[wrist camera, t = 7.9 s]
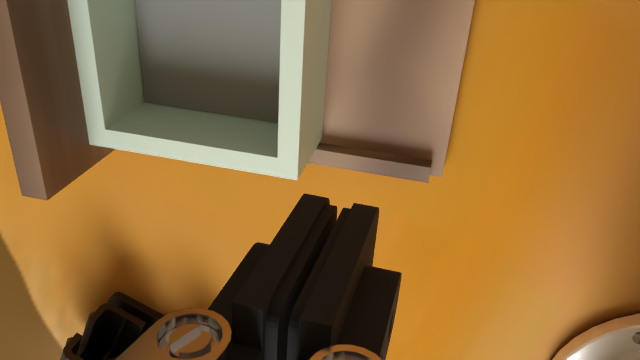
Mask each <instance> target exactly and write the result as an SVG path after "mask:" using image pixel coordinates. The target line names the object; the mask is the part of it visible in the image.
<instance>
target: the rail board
mask: <svg viewBox="0 0 640 360" xmlns="http://www.w3.org/2000/svg"><path fill="white" fill-rule="evenodd" d="M474 3H475V0H331V14H330V29H329V44H328V59H327V74H326V89H325V104H324V119H323V134H322V139H321V141H320V143H319V144H318V146H317V148H316V149H315V151H314V153H313V155H312V156H311V158H310V160H309V161H308V163H311V164H317V165H323V166H329V167H336V168H342V169H348V170H354V171H360V172H366V173H372V174H378V175H384V176H390V177H396V178H402V179H408V180H414V181H420V182H426V183H428V181H429V176H430V175H432V176H438V177H442V174H443V169H444V164H445V158H446V153H447V147H448V142H449V137H450V131H451V126H452V121H453V115H454V110H455V105H456V99H457V94H458V89H459V83H460V78H461V72H462V67H463V62H464V56H465V51H466V46H467V40H468V35H469V30H470V24H471V19H472V13H473V8H474ZM0 102H1V107H2V111H3V115H4V120H5V124H6V128H7V133H8V137H9V141H10V146H11V150H12V154H13V159H14V163H15V167H16V172H17V176H18V180H19V185H20V189H21V193H22V196H27V197H32V198H37V199H42V200H49V199H50V198H51V197H53V196H54V195H55V194H57V193H58V192H59V191H60V190H62V189H63V188H64V187H66V186H67V185H68V184H70V183H71V182H72V181H74V180H75V179H76V178H78V177H79V176H80V175H82V174H83V173H84V172H86V171H87V170H88V169H90V168H91V167H92V166H94V165H95V164H96V163H97V162H99V161H100V160H101V159H103V158H104V157H105V156H107V155H108V154H109V153H111V152H112V151H113V150H115V149H113V148H107V147H101V146H95V145H90V144H89V138H88V131H87V125H86V118H85V112H84V105H83V99H82V92H81V86H80V79H79V73H78V66H77V60H76V54H75V47H74V41H73V34H72V28H71V21H70V15H69V8H68V2H67V0H0Z"/></svg>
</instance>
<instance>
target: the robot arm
mask: <svg viewBox="0 0 640 360" xmlns="http://www.w3.org/2000/svg"><path fill="white" fill-rule="evenodd" d="M378 217H379V208H378V207H373V206H367V205H362V204H357V203H354V204H353V206H352V208H351V209H348V208H343V209H342V211H341V213H340V215H339V217H338V219H337V206H333V205H330V202H329V198H325V197H320V196H315V195H309V194H303V196H302V197H301V199H300V200H299V202H298V203H297V205H296V206H295V208H294V209H293V211H292V212H291V214H290V215H289V217H288V218H287V220H286V221H285V223H284V224H283V226H282V227H281V229H280V230H279V232H278V233H277V235H276V236H275V238H274V239H273V241H272V242H271V244H270V245H268V244H264V243H259V242H258V243H255V244H254V245H253V246H252V248H251V249H250V251H249V252H248V253H247V255H246V256H245V258H244V259H243V260H242V262H241V263H240V265H239V266H238V267H237V269H236V270H235V272H234V273H233V275H232V276H231V277H230V279H229V280H228V282H227V283H226V284H225V286H224V287H223V289H222V290H221V291H220V293H219V294H218V296H217V297H216V299H215V300H214V301H213V303H212V304H211V306H210V307H209V308H208V310H207V309H203V308H187V309H182V310H177V311H174V312H172V313H170V314H167V315H165V316H164V317H162V318H161V319H159V320H158V321H157V322H155V323H154V324H153V325H152V326H151V327H150V328H149V329H148V330H147V331H146V332H145V333H143V334H142V335H141V336H140V337H139V338H138V339H137V340H136V341H135V342H134V343H133V344H132V345H131V346H129V347H128V348H127V349H126V350H125V351H124V352H123V353H122V354H121V355H120V356H118V357H115V358H112V359H108V360H385V359H386V354H387V350H388V346H389V342H390V338H391V333H392V328H393V323H394V318H395V313H396V307H397V301H398V295H399V288H400V282H401V273H400V272H395V271H391V270H386V269H381V268H377V267H372V264H373V256H374V248H375V241H376V233H377V225H378ZM336 219H337V221H336ZM552 360H640V313H639V314H635V315H630V316H625V317H621V318H616V319H613V320H611V321H608V322H605V323H603V324H600V325H597V326H594V327H592V328H591V329H589V330H587V331H585V332H584V333H582V334H580V335H578V336H576V337H575V338H573V339H572V340H571V341H570V342H569V343H568V344H566V345H565V346H564V347H563V348H562V349H560V350H559V352H558V353H557V354H556V356H555V357H554V358H553V359H552Z"/></svg>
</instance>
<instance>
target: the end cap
mask: <svg viewBox="0 0 640 360" xmlns="http://www.w3.org/2000/svg"><path fill="white" fill-rule="evenodd" d="M162 317H164V315H162V314H160V313H158V312H156V311H155V310H153V309H151V308H149V307H147V306H145V305H143V304H142V303H140V302H138V301H136V300H134V299H132V298H130V297H129V296H127V295H125V294H123V293H120V292H116V293H114V294H113V295H112V296H111V298H110V299H109V300H108V303H107V304H103V305H101V306H100V307H99V308H98V309H97V310H96V311H95V312H92V313H90V315H89V318H88V321H87V324H86V327H85V330H84V333H83V336H82V335H80V334H78V333H76V334H75V335H74V337H71V338H68V339H67V342H66V346H65V347H64V349H63V352H62V356H61V359H60V360H108V359H112V358H115V357H118V356H120V355H121V354H122V353H123V352H124V351H125V350H126V349H127V348H128V347H129V346H131V345H132V344H133V343H134V342H135V341H136V340H137V339H138V338H139V337H140V336H141V335H142V334H143V333H145V332H146V331H147V330H148V329H149V328H150V327H151V326H152V325H153V324H154V323H155V322H157V321H158V320H159V319H161V318H162Z"/></svg>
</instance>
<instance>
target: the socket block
mask: <svg viewBox="0 0 640 360" xmlns="http://www.w3.org/2000/svg"><path fill="white" fill-rule="evenodd" d="M67 2H68V8H69V15H70V21H71V28H72V34H73V41H74V47H75V54H76V60H77V66H78V73H79V79H80V86H81V92H82V99H83V105H84V112H85V118H86V125H87V131H88V138H89V144H90V145H95V146H101V147H107V148H113V149H118V150H124V151H130V152H136V153H142V154H148V155H153V156H159V157H165V158H171V159H177V160H182V161H188V162H194V163H200V164H206V165H212V166H217V167H223V168H229V169H235V170H241V171H247V172H252V173H258V174H264V175H270V176H276V177H281V178H287V179H293V180H298V178H299V177H300V175H301V173H302V172H303V170H304V168H305V166H306V165H307V163H308V161H309V160H310V158H311V156H312V155H313V153H314V151H315V149H316V148H317V146H318V144H319V143H320V141H321V139H322V134H323V119H324V104H325V89H326V74H327V59H328V44H329V29H330V14H331V0H67Z"/></svg>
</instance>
